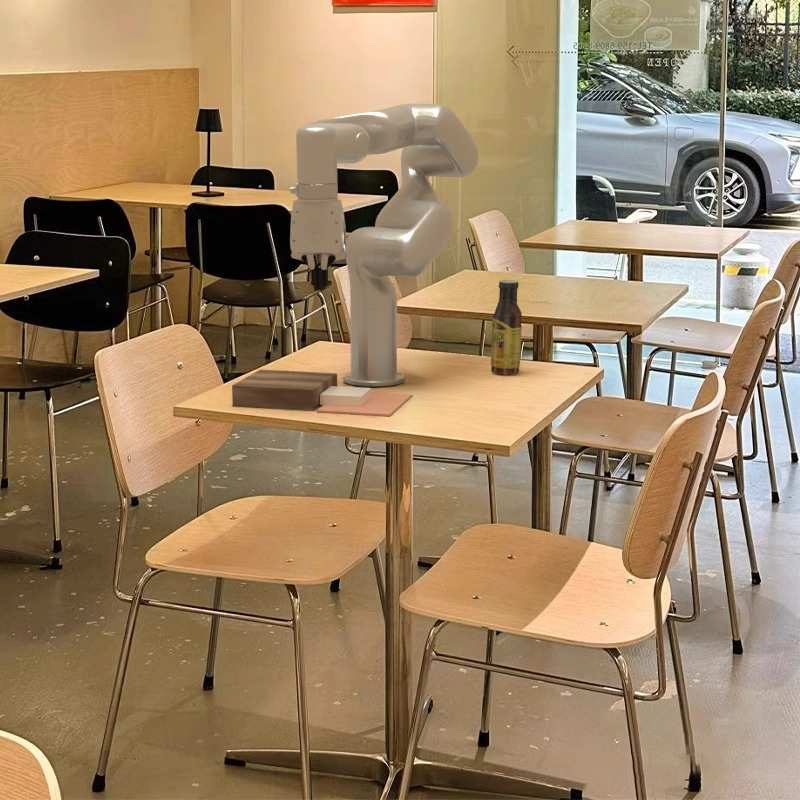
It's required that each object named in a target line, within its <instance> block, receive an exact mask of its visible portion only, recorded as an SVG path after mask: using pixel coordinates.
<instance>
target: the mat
mask: <svg viewBox="0 0 800 800" xmlns="http://www.w3.org/2000/svg"><path fill="white" fill-rule="evenodd" d="M412 397H413V394H412V393H396V392H395V393H394V392H392V393H391V392H380V391H379V392H378V391H376V392H375V391H371V399H370V400H369V401H367V402H366V403H365V404H364V405H363V406H362V407H349V406H330V405H321V406H319V407H318V408H317V409H316V412H317V413H323V414H325V413H326V414H338V413H339V415H340V414H343V415H359V416H372V417H376V416H377V417H391V416H392V415H393V414H394V413H395V412H397V411H398V410H399V409H401V407H402V406H403V405H405V403H407V402H408V401H409V400H410V399H411V398H412Z"/></svg>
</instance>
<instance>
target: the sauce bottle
mask: <svg viewBox="0 0 800 800" xmlns="http://www.w3.org/2000/svg"><path fill="white" fill-rule="evenodd" d="M498 288H499V292H498V293H499V297H498V302H497V306H496V308H495V310H494V313H493V316H492V320H491V321H492V323H491V324H492V325H491V342H490V343H491V344H490V345H491V351H490V366H491V368H490V371H491V373H492V374H495V375H498V376H515V375H518V374H519V373H520V366H521V352H522V351H521V349H522V331H523V329H522V318H523V317H522V311H521V309H520V307H519V305H518V288H519V281H518V280H514V279H501V280H499V283H498Z"/></svg>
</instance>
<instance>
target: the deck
mask: <svg viewBox="0 0 800 800" xmlns="http://www.w3.org/2000/svg"><path fill="white" fill-rule="evenodd" d="M331 386H338V373H336V372H335V373H333V372H320V371H319V372H317V371H316V372H315V371H314V372H313V371H295V370H280V369H279V370H277V369H259V370H257V371H256V372H254V373H251V374H250V375H248V376H246V377H245V378H243V379H241V380H239V381H237V382H236V383H233V384H232V385H231V390H232V391H231V393H232V395H231V396H232V397H231V400H232V407H243V408H259V409H274V410H275V409H276V410H294V411H295V410H296V411H308V412H309V411H312V412H314V411H316V410H317V409H319V408H320V407H322V405H320V394H321V393H323V392H324V391H325V390H327V389H328V388H329V387H331Z"/></svg>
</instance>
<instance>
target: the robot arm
mask: <svg viewBox="0 0 800 800" xmlns="http://www.w3.org/2000/svg"><path fill="white" fill-rule="evenodd" d="M295 141H296V143H295V144H296V177H297V178H296V180H297V181H296V182H297V183H296V185H293V186H290V187H289V193H290V195H291V194H292V195H293V194H294V195H295V196H296V198H297V199H295V200H292V201H293V202H292V207H291V214H290V215H291V217H290V235H289V237H290V238H289V244H290V245H289V247H290V251H291V253H290V256H291V258H292V259H295V260H298V261H302V262H303V263H304V264H305V265H306V266H307V267H308V269H309V270H310V284H311V286H313V291H316V292H318V291H320V292H321V291H324V290H326V288H327V286H329V268H330V267H331V265H333V264H334V263H335V262H338V261H340V260H345V262H346V266H347V272H348V277H349V279H348V280H349V292H350V293H349V296H350V300H349V301H350V303H349V305H350V310H349V311H350V316H349V317H350V318H349V320H350V372H349V371H348V372H347V373H344V374H343V377H342V378H343V380H342V381H343V382H344V383H346V384H348V385H351V386H355V387H356V386H358V387H366V388H372V387H376V388H377V387H389V386H395V385H399V384H402V383H404V381H405V375H404V373H402V372H398V296H397V292H396V288H395V286H394V284H393V283H392V280H391V279H390V277H397V278H417V277H418V276H421V275H422V274H423V273H424V272H425V271H426V270H427V269H428V268H429V267H430V265H431V264H432V263H433V262H434V261H435V259H436V258H437V257H438V255H439V254H440V253H441V251H442V250H443V249H444V248H445V246H446V245H447V243H448V241H449V240H450V237H451V235H452V230H453V215H452V212H451V210H450V208H448V206H447V205H446V204H445V203H443V202H441V201H438V197H437V193H436V190H435V189H434V186H433V185H432V184H431V182H430V177H433V178H434V177H442V178H465V177H468V176H471V174H473V173H474V172H475V171H476V169H477V167H478V165H479V150H478V147H477V144H476V142H475V140H474V138H473V137H472V135H471V134H470V132H469V131H468V130H467V128H466V127H465V125H464V123H463V122H462V120H461V119H460V118H459V117H458V115H457V114H456V113H455V112H454V111H453V110H452V109H451V108H450V107H448V106H446V105H444V104H442V103H404V104H403V103H402V104H399V105H394V106H390V107H387V108H383V109H377V110H374V111H367V112H360V113H355V114H350V115H348V114H347V115H341V116H335V117H334V116H333V117H329V118H323V119H319V120H315V121H311V122H308V123H306V124H305V125H304V126H301V127H299V128H298V129H297V131H296V137H295ZM399 149H400V150H401V149H402V150H401V154H400V165H401V166H400V169H401V186H400V187H399V188H398V190H397V192H396V193H395V194H394V195H393V196H392V197H391V198H390V200H388V202H387V203H386V204H385V205H384V206H383V208H382V209H381V210H380V212H378V213H379V214H378V215H377V216H376V219H375V223H374V224H375V225H374V226H365V227H360V228H358V229H355V230H354V231H352V232H351V233H350V234H349V235H348V237H347V232H346V230H347V229H346V222H345V221H346V220H345V213H344V207H343V203H342V200H341V199H338V198H339V197H338V195H339V194H338V164H356V163H358V162H359V163H360V162H361V161H363V160H364V159H365V158H366V157H367V156H369V155H372V156H373V155H382V154H388V153H389V152H393V151H397V150H399ZM318 255H321V261H320V265H319V263H318Z"/></svg>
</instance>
